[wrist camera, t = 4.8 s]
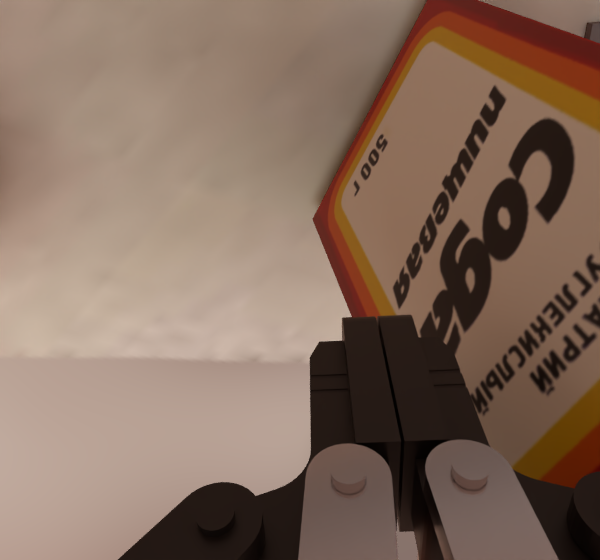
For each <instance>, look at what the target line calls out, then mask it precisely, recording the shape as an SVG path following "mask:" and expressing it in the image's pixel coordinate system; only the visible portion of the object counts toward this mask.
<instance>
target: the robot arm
mask: <svg viewBox="0 0 600 560" xmlns="http://www.w3.org/2000/svg"><path fill="white" fill-rule="evenodd" d="M310 407H311V455H310V458H309V461H308V464H307V466H306V467H305V469H304V470H303V472H302V473H301V474H300V475H299V476H298V477H297V478H296V479H294V480H293V481H292V482H290V483H289V484H287V485H285V486H283V487H281V488H278V489H276V490H273V491H270V492H267V493H264V494H261V495H258V496H255V495H254V494H253V493H252V492H251V491H250V490H249V489H247V488H245V487H243V486H241V485H238V484H234V483H229V482H220V483H213V484H210V485H206V486H204V487H201V488H199V489H197V490H196V491H194V492H192V493H191V494H190V495H189V496H188V497H186V498H185V499H184V500H183V501H182V502H181V503H180V504H178V505H177V506H176V507H175V508H174V509H173V510H172V511H171V512H170V513H169V514H168V515H167V516H166V517H164V518H163V519H162V520H161V521H160V522H159V523H158V524H157V525H155V526H154V527H153V528H152V529H151V530H150V531H149V532H148V533H147V534H146V535H144V536H143V537H142V538H141V539H140V540H139V541H138V542H137V543H136V544H135V545H133V546H132V547H131V548H130V549H129V550H128V551H127V552H126V553H125V554H124V555H123V556H121V557H120V558H119V559H118V560H398V550H397V536H396V530H397V519H398V525H399V531H400V532H403V531H414V533H415V539H416V544H417V549H418V556H417V560H600V472H594V473H590V474H588V475H586V476H584V477H582V478H581V479H580V480H579V481H578V483H577V484H576V486H575V488H570V487H566V486H562V485H558V484H553V483H549V482H545V481H540V480H537V479H533V478H530V477H528V476H525V475H523V474H521V473H519V472H517V471H515V470H513V469H512V467H511V466H510V464H509V462H508V461H507V460H506V459H505V458H504V457H503V456H502V455H501V454H500V453H499V452H497V451H496V450H494V449H493V448H491V447H490V445H489V443H488V440H487V438H486V435H485V433H484V430H483V427H482V425H481V422H480V420H479V417H478V414H477V412H476V409H475V407H474V404H473V401H472V399H471V396H470V394H469V391H468V388H467V387H466V383H465V381H464V378H463V375H462V373H460V367H459V365H458V362H457V360H456V357H455V354H454V352H453V351H452V350H451V349H450V348H449V347H448V346H447V345H446V344H445V343H444V342H443V341H442V340H441V339H440V338H439V337H418V333H417V330H416V327H415V324H414V320H413V317H412V315H390V316H377V320H376V317H375V316H370V317H348V318H342V341H327V342H319V343H318V345H317V347H316V348H315V350H314V352H313V353H312V355H311V357H310Z"/></svg>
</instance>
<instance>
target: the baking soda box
mask: <svg viewBox="0 0 600 560" xmlns="http://www.w3.org/2000/svg"><path fill="white" fill-rule="evenodd" d="M313 222H314V224H315V226H316V229H317V231H318V234H319V236H320V239H321V241H322V244H323V246H324V249H325V251H326V254H327V256H328V259H329V261H330V264H331V266H332V269H333V271H334V274H335V276H336V279H337V281H338V283H339V286H340V288H341V291H342V293H343V296H344V298H345V301H346V303H347V306H348V308H349V311H350V313H351V316H352V317H370V316H375V317H376V320H377V316H390V315H412V317H413V320H414V324H415V327H416V330H417V333H418V337H439V338H440V339H441V340H442V341H443V342H444V343H445V344H446V345H447V346H448V347H449V348H450V349H451V350H452V351H453V352H454V354H455V357H456V360H457V362H458V365H459V367H460V373H462V375H463V378H464V381H465V383H466V387H467V388H468V391H469V394H470V396H471V399H472V401H473V404H474V407H475V409H476V412H477V414H478V417H479V420H480V422H481V425H482V427H483V430H484V433H485V435H486V438H487V440H488V443H489V445H490V447H491V448H493V449H494V450H496V451H497V452H499V453H500V454H501V455H502V456H503V457H504V458H505V459H506V460H507V461H508V462H509V464H510V466H511V467H512V469H513V470H515V471H517V472H519V473H521V474H523V475H525V476H528V477H530V478H533V479H537V480H540V481H545V482H549V483H553V484H558V485H562V486H566V487H570V488H575V486H576V484H577V483H578V481H579V480H580V479H581V478H582V477H584V476H586V475H588V474H590V473H594V472H600V43H597V42H594V41H591V40H588V39H586V38H583V37H580V36H577V35H574V34H571V33H569V32H566V31H563V30H560V29H557V28H554V27H552V26H549V25H546V24H543V23H540V22H537V21H535V20H532V19H529V18H526V17H523V16H521V15H518V14H515V13H512V12H509V11H506V10H504V9H501V8H498V7H495V6H492V5H489V4H487V3H484V2H481V1H478V0H427V2H426V4H425V6H424V8H423V9H422V11H421V13H420V15H419V17H418V19H417V21H416V23H415V25H414V27H413V29H412V30H411V32H410V34H409V36H408V38H407V40H406V42H405V44H404V46H403V48H402V49H401V51H400V53H399V55H398V57H397V59H396V61H395V63H394V65H393V67H392V69H391V70H390V72H389V74H388V76H387V78H386V80H385V82H384V84H383V86H382V88H381V90H380V91H379V93H378V95H377V97H376V99H375V101H374V103H373V105H372V107H371V109H370V110H369V112H368V114H367V116H366V118H365V120H364V122H363V124H362V126H361V128H360V130H359V131H358V133H357V135H356V137H355V139H354V141H353V143H352V145H351V147H350V149H349V151H348V152H347V154H346V156H345V158H344V160H343V162H342V164H341V166H340V168H339V170H338V171H337V173H336V175H335V177H334V179H333V181H332V183H331V185H330V187H329V189H328V191H327V192H326V194H325V196H324V198H323V200H322V202H321V204H320V206H319V208H318V210H317V212H316V213H315V215H314V217H313Z"/></svg>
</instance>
